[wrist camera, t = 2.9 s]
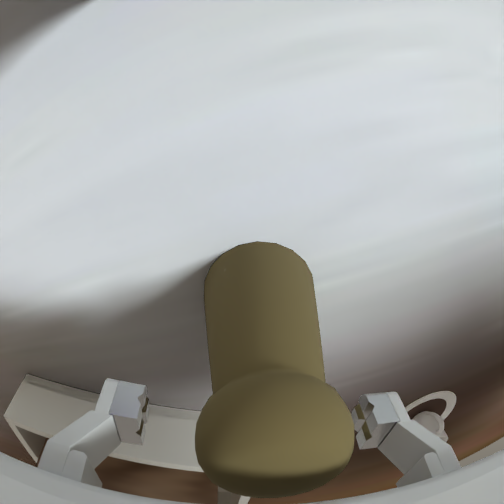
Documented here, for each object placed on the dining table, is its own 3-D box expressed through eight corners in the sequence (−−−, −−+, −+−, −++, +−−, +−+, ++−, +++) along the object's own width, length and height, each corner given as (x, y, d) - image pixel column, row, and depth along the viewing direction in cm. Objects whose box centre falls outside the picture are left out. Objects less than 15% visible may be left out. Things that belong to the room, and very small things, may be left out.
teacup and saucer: (416, 441, 28) (427, 468, 24) (362, 441, 26) (372, 474, 22) (467, 389, 24) (484, 417, 21) (418, 384, 23) (436, 419, 19)
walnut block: (219, 441, 22) (217, 506, 17) (212, 485, 26) (211, 533, 21) (57, 410, 21) (35, 465, 16) (84, 461, 25) (71, 506, 20)
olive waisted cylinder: (292, 342, 19) (325, 511, 9) (194, 323, 18) (169, 503, 8) (330, 256, 17) (418, 433, 7) (217, 228, 16) (190, 423, 6)
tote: (258, 415, 22) (262, 470, 18) (236, 487, 29) (237, 524, 24) (27, 373, 20) (3, 416, 16) (71, 458, 27) (60, 492, 22)
